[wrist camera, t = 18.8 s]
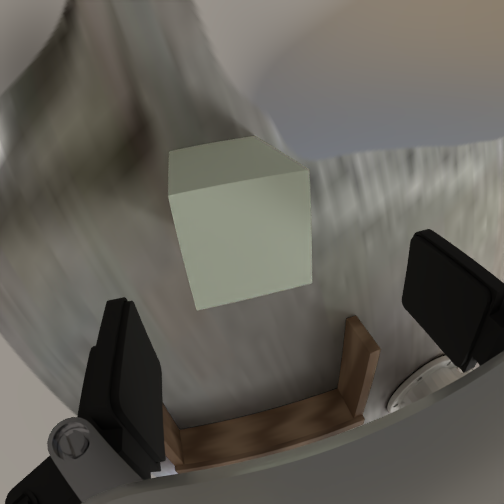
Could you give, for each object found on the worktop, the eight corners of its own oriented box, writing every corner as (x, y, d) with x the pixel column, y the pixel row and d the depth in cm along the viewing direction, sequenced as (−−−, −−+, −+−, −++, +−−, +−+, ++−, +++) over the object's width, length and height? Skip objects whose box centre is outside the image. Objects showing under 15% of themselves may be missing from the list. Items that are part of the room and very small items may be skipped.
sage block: (254, 135, 18) (309, 169, 11) (262, 213, 20) (312, 283, 14) (169, 151, 17) (168, 195, 10) (185, 229, 20) (196, 310, 13)
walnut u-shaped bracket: (356, 315, 27) (384, 354, 23) (344, 390, 34) (363, 424, 29) (132, 371, 24) (132, 420, 20) (173, 435, 31) (179, 474, 26)
